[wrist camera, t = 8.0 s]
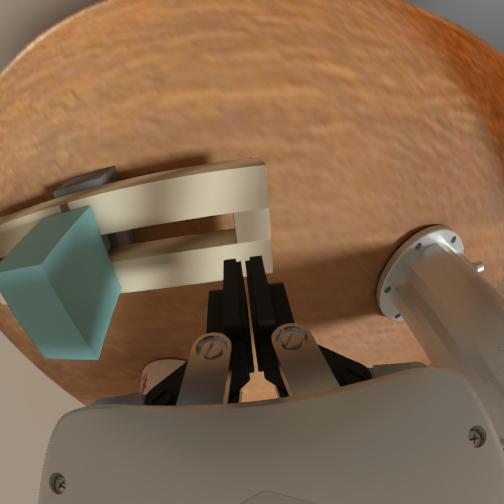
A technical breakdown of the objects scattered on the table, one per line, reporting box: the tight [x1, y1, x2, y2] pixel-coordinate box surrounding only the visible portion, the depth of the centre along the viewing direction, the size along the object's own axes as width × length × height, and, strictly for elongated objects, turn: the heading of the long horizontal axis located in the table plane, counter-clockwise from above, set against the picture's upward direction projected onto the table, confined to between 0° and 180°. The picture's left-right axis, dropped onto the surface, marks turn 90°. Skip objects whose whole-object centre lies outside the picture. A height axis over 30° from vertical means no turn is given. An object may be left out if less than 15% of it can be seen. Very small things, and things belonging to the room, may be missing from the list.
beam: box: [0, 157, 273, 305], centre depth 17 cm, size 24×8×5 cm, turn 95°
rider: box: [0, 205, 122, 360], centre depth 13 cm, size 4×6×8 cm, turn 5°
